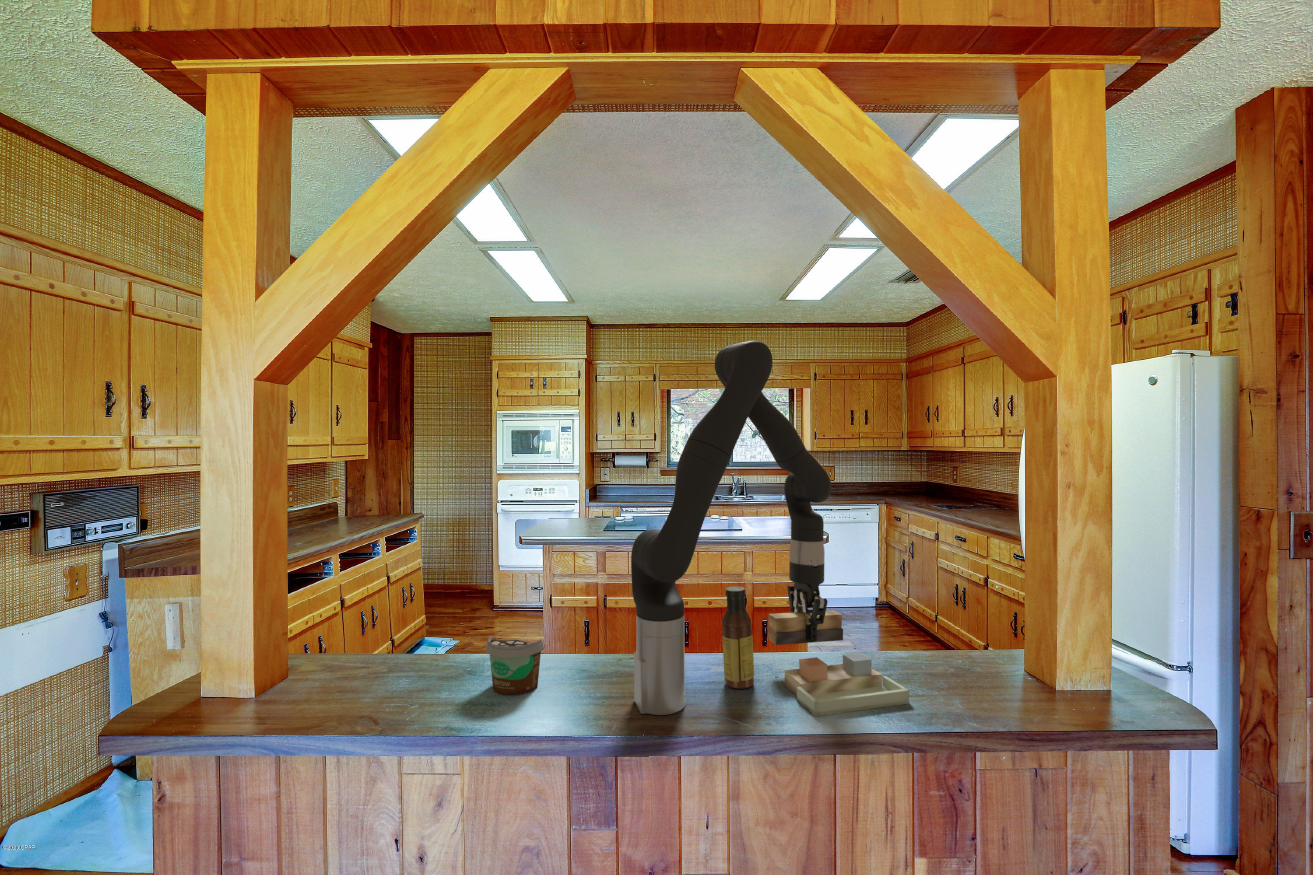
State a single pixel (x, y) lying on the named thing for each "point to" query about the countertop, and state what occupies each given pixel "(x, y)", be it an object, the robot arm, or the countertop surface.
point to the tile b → (857, 664)
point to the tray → (854, 698)
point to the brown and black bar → (803, 628)
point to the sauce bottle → (737, 641)
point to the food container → (514, 665)
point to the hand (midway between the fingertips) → (806, 637)
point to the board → (832, 681)
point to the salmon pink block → (813, 669)
